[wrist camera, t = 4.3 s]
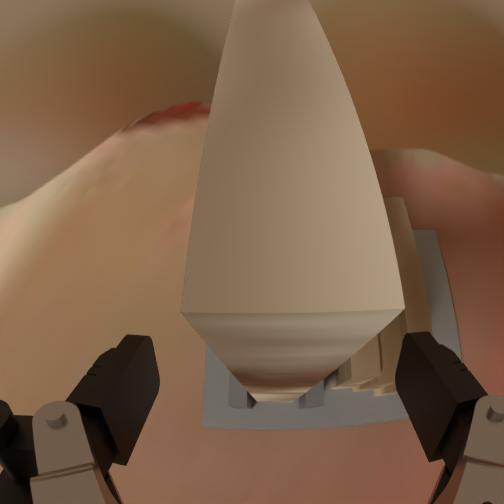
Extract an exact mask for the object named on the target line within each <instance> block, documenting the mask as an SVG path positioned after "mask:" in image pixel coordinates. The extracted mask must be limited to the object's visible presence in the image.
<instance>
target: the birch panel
mask: <svg viewBox="0 0 504 504" xmlns="http://www.w3.org/2000/svg"><path fill="white" fill-rule="evenodd" d="M404 309H405V304H404V298H403V292H402V286H401V280H400V274H399V269H398V264H397V259H396V254H395V249H394V244H393V239H392V235H391V230H390V226H389V222H388V217H387V213H386V209H385V205H384V201H383V197H382V194H381V190H380V186H379V183H378V179H377V175H376V172H375V168H374V165H373V162H372V158H371V155H370V152H369V149H368V145H367V142H366V139H365V136H364V133H363V130H362V127H361V124H360V121H359V118H358V115H357V113H356V110H355V107H354V105H353V102H352V99H351V96H350V93H349V91H348V88H347V86H346V83H345V80H344V78H343V76H342V73H341V71H340V68H339V66H338V63H337V61H336V59H335V56H334V54H333V51H332V49H331V47H330V45H329V42H328V40H327V38H326V36H325V33H324V31H323V29H322V27H321V25H320V23H319V21H318V19H317V17H316V14H315V13H314V10H313V8H312V6H311V4H310V2H309V1H308V0H236V1H235V5H234V9H233V13H232V17H231V21H230V25H229V29H228V33H227V37H226V41H225V46H224V50H223V54H222V59H221V63H220V68H219V72H218V77H217V82H216V87H215V91H214V97H213V101H212V106H211V111H210V116H209V121H208V127H207V132H206V137H205V143H204V148H203V154H202V160H201V166H200V172H199V178H198V184H197V190H196V197H195V203H194V210H193V217H192V223H191V231H190V238H189V245H188V253H187V261H186V269H185V277H184V286H183V295H182V304H181V313H182V314H183V316H184V317H185V318H186V319H187V321H188V322H189V323H190V324H191V326H192V327H193V328H194V329H195V331H196V332H197V333H198V334H199V335H200V337H201V338H202V339H203V340H204V341H205V343H206V344H207V345H208V346H209V347H210V349H211V350H212V351H213V352H214V353H215V355H216V356H217V357H218V358H219V359H220V360H221V362H222V363H223V364H224V365H225V366H226V367H227V368H228V370H229V371H230V372H231V373H232V374H233V375H234V376H235V378H236V379H237V380H238V381H239V382H240V383H241V384H242V385H243V387H244V388H245V389H246V390H247V391H248V392H249V393H250V394H251V395H252V396H253V398H254V399H255V400H256V401H257V402H293V401H295V400H296V399H298V398H299V397H300V396H302V395H303V394H304V393H306V392H307V391H308V390H310V389H311V388H312V387H314V386H315V385H316V384H318V383H319V382H320V381H322V380H323V379H324V378H325V377H327V376H328V375H329V374H330V373H332V372H333V371H334V370H335V369H337V368H338V367H339V366H340V365H342V364H343V363H344V362H345V361H347V360H348V359H349V358H350V357H351V356H353V355H354V354H355V353H356V352H357V351H358V350H360V349H361V348H362V347H363V346H364V345H365V344H367V343H368V342H369V341H370V340H371V339H372V338H373V337H375V336H376V335H377V334H378V333H379V332H380V331H381V330H382V329H384V328H385V327H386V326H387V325H388V324H389V323H390V322H391V321H392V320H393V319H394V318H395V317H396V316H398V315H399V314H400V313H401V312H402V311H403V310H404Z"/></svg>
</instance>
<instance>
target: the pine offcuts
mask: <svg viewBox="0 0 504 504" xmlns="http://www.w3.org/2000/svg"><path fill="white" fill-rule="evenodd" d="M382 197H383V196H382ZM383 201H384V205H385V209H386V213H387V217H388V222H389V226H390V230H391V235H392V239H393V244H394V249H395V254H396V259H397V264H398V269H399V274H400V280H401V286H402V292H403V298H404V304H405V309H404V310H403V311H402V312H401V313H400V314H399V315H398V316H396V317H395V318H394V319H393V320H392V321H391V322H390V323H389V324H388V325H387V326H386V327H385V328H384V329H382V330H381V331H380V332H379V333H378V334H377V335H376V336H375V337H373V338H372V339H371V340H370V341H369V342H368V343H367V344H365V345H364V346H363V347H362V348H361V349H360V350H358V351H357V352H356V353H355V354H354V355H353V356H351V357H350V358H349V359H348V360H347V361H345V362H344V363H343V364H342V365H340V366H339V367H338V368H337V369H335V370H334V371H333V372H332V373H330V389H345V388H352V392H358V391H368V390H374V397H375V396H384V395H392V394H397V393H398V392H397V390H396V386H395V373H396V368H397V364H398V360H399V356H400V351H401V346H402V342H403V338H404V336H405V334H406V333H413V332H423V331H428V332H430V333H431V335H432V336H433V331H432V324H431V318H430V312H429V306H428V300H427V294H426V289H425V284H424V279H423V274H422V269H421V265H420V260H419V256H418V252H417V247H416V243H415V239H414V235H413V231H412V227H411V224H410V220H409V216H408V213H407V209H406V206H405V202H404V199H403V197H383Z"/></svg>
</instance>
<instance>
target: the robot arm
mask: <svg viewBox="0 0 504 504" xmlns="http://www.w3.org/2000/svg"><path fill="white" fill-rule="evenodd" d="M467 369H468V368H467V367H466V366H465V365H464V363H461V360H460V358H459V357H458V356H457V355H456V354H455V352H454V351H452V350H451V349H449V348H447V347H446V346H444V345H443V344H440V345H439V343H438V342H437V341H436V340H435V338H434V337H433V336H432V335H431V333H430V332H428V331H423V332H413V333H406V334H405V336H404V338H403V342H402V346H401V351H400V356H399V360H398V364H397V368H396V373H395V386H396V390H397V392H398V394H399V396H400V399H401V401H402V403H403V405H404V407H405V409H406V411H407V414H408V416H409V418H410V420H411V422H412V424H413V427H414V429H415V431H416V433H417V436H418V438H419V440H420V442H421V445H422V447H423V449H424V452H425V454H426V456H427V459H428V461H429V462H432V461H436V460H440V459H443V460H444V462H445V465H444V466H443V468H442V470H441V473H440V475H439V478H438V480H437V483H436V485H435V488H434V490H433V492H432V495H431V497H430V499H429V501H428V504H504V397H503V396H499V395H488V394H487V393H486V391H485V390H484V389H483V387H482V386H481V385H480V384H479V382H478V381H477V380H476V378H475V377H474V376H473V375H472V373H471V372H470V371H468V370H467ZM159 386H160V377H159V371H158V367H157V362H156V357H155V352H154V347H153V342H152V339H151V337H150V336H143V335H129V334H128V335H126V336H125V337H124V338H123V339H122V341H121V342H120V343H119V345H118V346H117V347H116V348H111V349H109V350H108V351H106V352H105V353H103V354H102V355H100V356H99V358H98V359H97V360H96V361H95V363H94V364H93V367H91V368H90V369H89V370H88V372H87V375H85V376H84V377H83V378H82V379H81V381H80V382H79V383H78V385H77V386H76V387H75V389H74V390H73V391H72V393H71V394H70V395H69V397H68V398H67V399H66V401H55V402H51V403H48V404H45V405H44V406H42V407H41V408H39V409H38V410H37V411H36V413H35V414H34V416H22V415H13V413H12V411H11V409H10V407H9V405H8V404H7V403H6V402H5V401H3V400H0V465H1V466H2V467H3V471H2V472H1V474H0V504H123V501H122V499H121V497H120V495H119V492H118V490H117V488H116V486H115V483H114V481H113V478H112V476H111V474H110V472H109V469H110V467H111V465H112V463H116V464H120V465H125V466H126V465H127V463H128V460H129V458H130V456H131V453H132V451H133V449H134V446H135V444H136V442H137V440H138V437H139V435H140V433H141V430H142V428H143V426H144V423H145V421H146V419H147V417H148V414H149V412H150V410H151V408H152V405H153V403H154V401H155V399H156V396H157V394H158V391H159Z"/></svg>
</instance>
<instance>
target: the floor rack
mask: <svg viewBox="0 0 504 504" xmlns="http://www.w3.org/2000/svg"><path fill="white" fill-rule="evenodd" d="M412 231H413V235H414V239H415V243H416V247H417V252H418V256H419V260H420V265H421V269H422V274H423V279H424V284H425V289H426V294H427V300H428V306H429V312H430V318H431V324H432V331H433V337H434V338H435V340H436V341H437V342H438V343H439V345H440V344H443V345H444V346H446V347H447V348H449V349H451V350H452V351H454V352H455V354H456V355H457V356H458V357H459V358H460V360H461V363H462V359H461V351H460V343H459V336H458V330H457V324H456V318H455V312H454V307H453V302H452V297H451V292H450V287H449V283H448V278H447V274H446V270H445V266H444V261H443V258H442V254H441V250H440V246H439V242H438V239H437V235H436V232H435V230H431V229H412ZM406 418H409V416H408V414H407V411H406V409H405V407H404V405H403V403H402V401H401V399H400V396H399V394H398V393H397V394H392V395H384V396H375V397H374V390H368V391H358V392H352V388H345V389H330V374H329V375H328V376H327V377H325V378H324V379H323V380H322V381H320V382H319V383H318V384H316V385H315V386H314V387H312V388H311V389H310V390H308V391H307V392H306V393H304V394H303V395H302V396H300V397H299V398H298V399H296V400H295V401H293V402H257V401H256V400H255V399H254V398H253V396H252V395H251V394H250V393H249V392H248V391H247V390H246V389H245V388H244V387H243V385H242V384H241V383H240V382H239V381H238V380H237V379H236V378H235V376H234V375H233V374H232V373H231V372H230V371H229V370H228V368H227V367H226V366H225V365H224V364H223V363H222V362H221V360H220V359H219V358H218V357H217V356H216V355H215V353H214V352H213V351H212V350H211V349H210V347H209V346H208V345H207V346H206V363H205V382H204V402H203V426H202V427H208V428H223V429H249V430H291V429H316V428H332V427H344V426H355V425H364V424H372V423H380V422H387V421H394V420H400V419H406Z"/></svg>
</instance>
